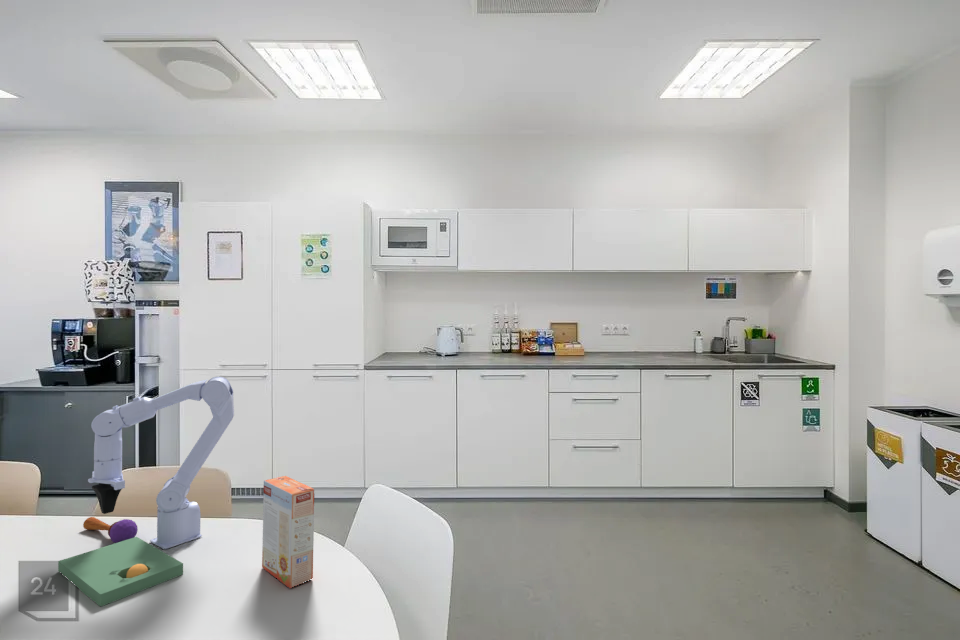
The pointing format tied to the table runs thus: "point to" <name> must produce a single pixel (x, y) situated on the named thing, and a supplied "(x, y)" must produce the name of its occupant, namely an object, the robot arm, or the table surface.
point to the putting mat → (119, 570)
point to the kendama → (113, 528)
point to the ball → (136, 570)
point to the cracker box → (288, 530)
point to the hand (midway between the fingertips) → (107, 512)
